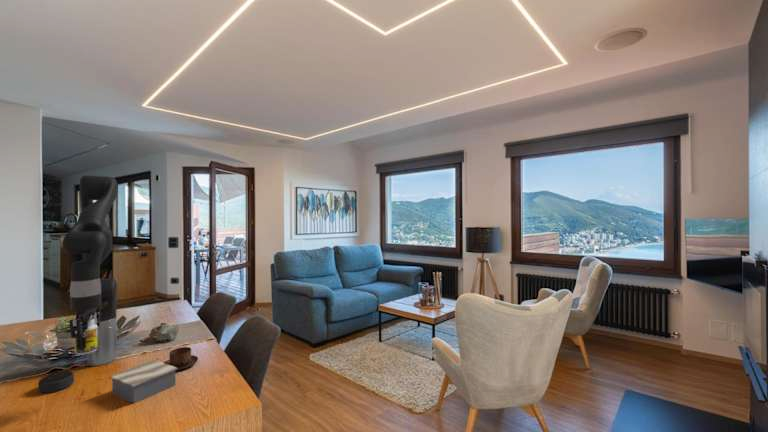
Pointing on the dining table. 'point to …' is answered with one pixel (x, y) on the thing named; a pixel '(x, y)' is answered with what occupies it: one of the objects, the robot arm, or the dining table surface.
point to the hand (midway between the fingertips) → (86, 345)
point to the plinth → (143, 381)
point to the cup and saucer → (181, 358)
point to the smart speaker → (56, 382)
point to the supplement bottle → (89, 340)
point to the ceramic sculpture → (162, 333)
